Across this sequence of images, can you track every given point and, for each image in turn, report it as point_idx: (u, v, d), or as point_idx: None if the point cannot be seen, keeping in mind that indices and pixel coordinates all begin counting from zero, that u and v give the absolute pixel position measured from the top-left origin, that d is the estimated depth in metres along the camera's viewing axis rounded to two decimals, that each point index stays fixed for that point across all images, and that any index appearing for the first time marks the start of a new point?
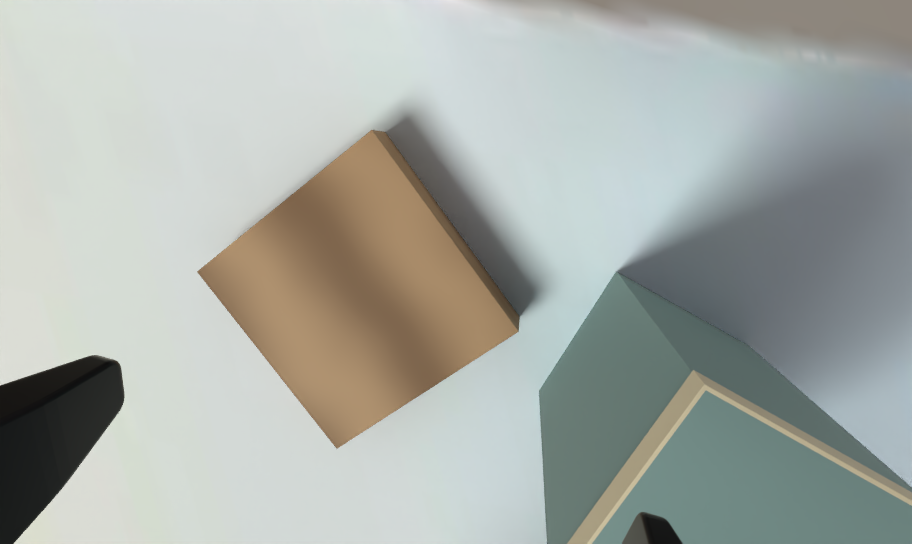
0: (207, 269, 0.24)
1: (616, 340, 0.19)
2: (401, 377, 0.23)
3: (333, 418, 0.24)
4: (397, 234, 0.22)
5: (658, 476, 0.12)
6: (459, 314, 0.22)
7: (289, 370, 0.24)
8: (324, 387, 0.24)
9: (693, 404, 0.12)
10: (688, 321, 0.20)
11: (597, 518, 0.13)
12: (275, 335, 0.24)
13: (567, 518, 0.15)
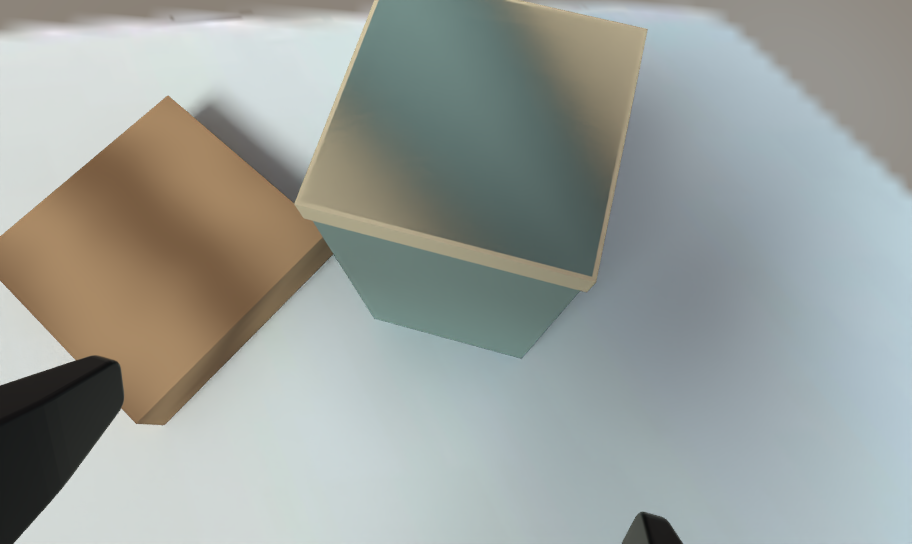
0: None
1: None
2: (211, 312, 0.21)
3: (131, 384, 0.20)
4: (196, 172, 0.23)
5: (372, 49, 0.13)
6: (266, 230, 0.22)
7: (78, 339, 0.21)
8: (121, 348, 0.21)
9: None
10: None
11: None
12: (63, 302, 0.21)
13: None
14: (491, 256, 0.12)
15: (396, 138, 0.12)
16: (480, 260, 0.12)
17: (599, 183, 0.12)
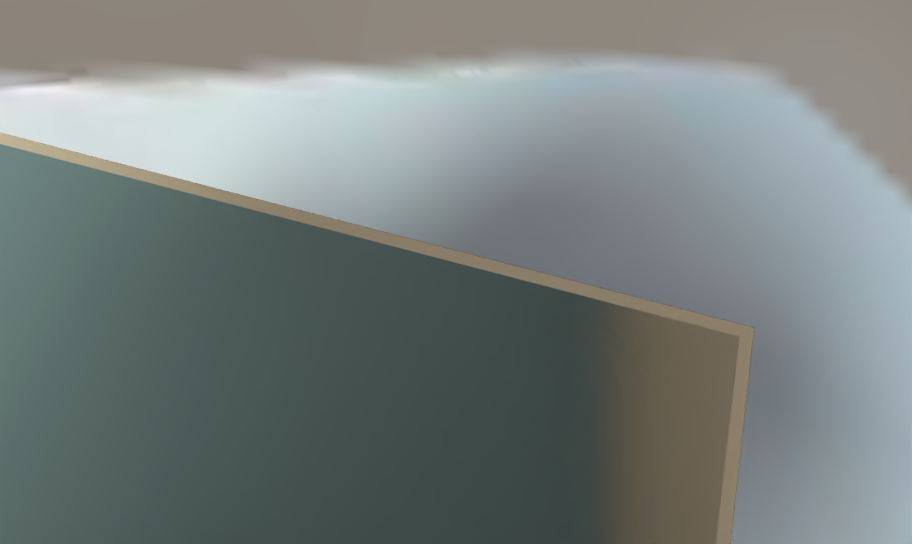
0: None
1: None
2: None
3: None
4: None
5: None
6: None
7: None
8: None
9: None
10: None
11: None
12: None
13: None
14: None
15: None
16: None
17: None
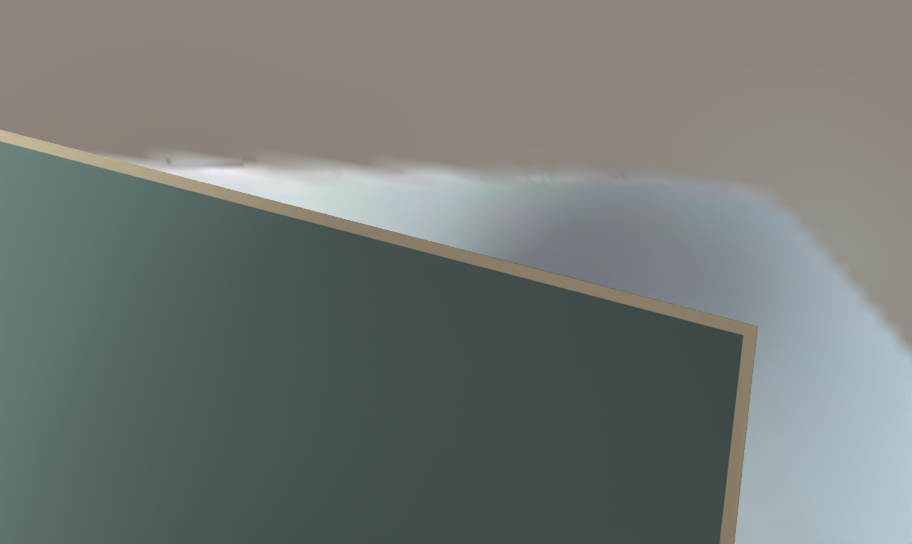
0: None
1: None
2: None
3: None
4: None
5: None
6: None
7: None
8: None
9: None
10: None
11: None
12: None
13: None
14: None
15: None
16: None
17: None
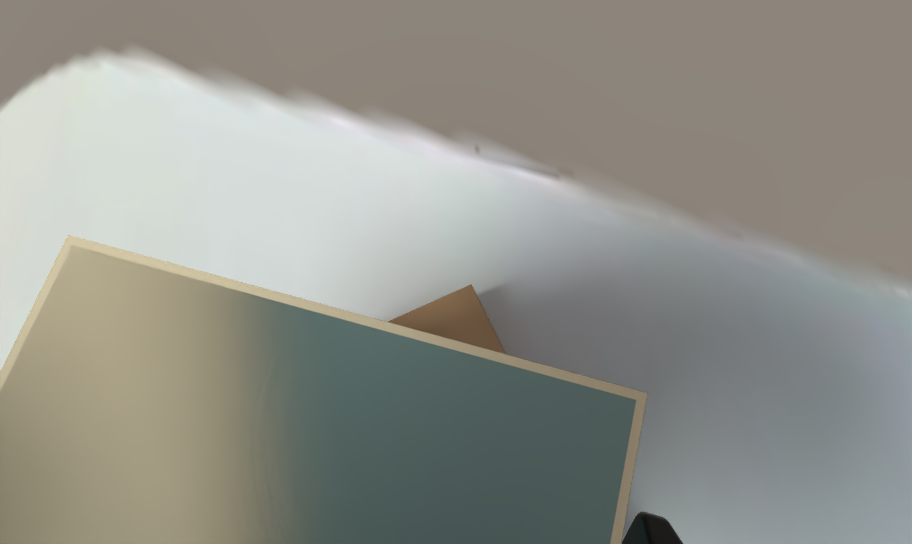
0: None
1: None
2: None
3: None
4: None
5: (0, 454, 0.06)
6: None
7: None
8: None
9: (58, 279, 0.06)
10: None
11: None
12: None
13: None
14: None
15: None
16: None
17: None
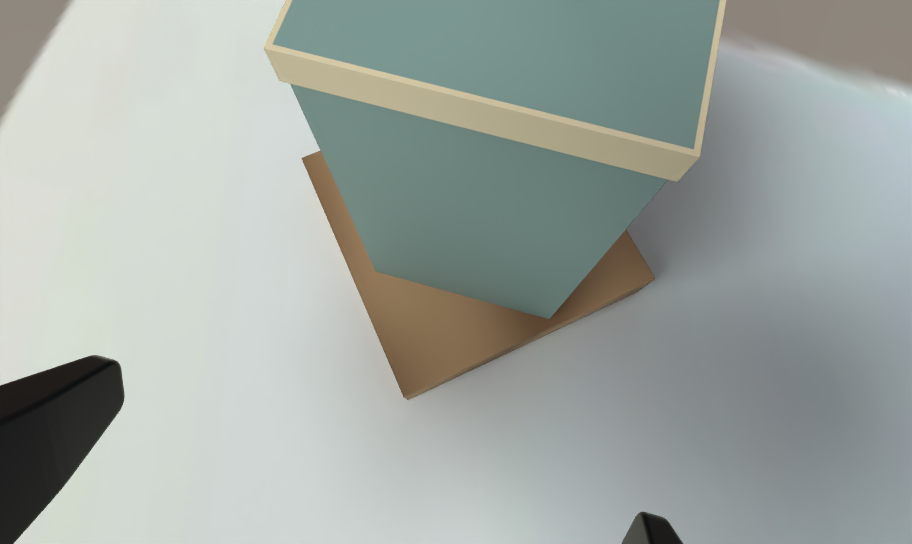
0: (314, 157, 0.21)
1: None
2: (510, 312, 0.19)
3: (410, 353, 0.19)
4: None
5: None
6: None
7: (372, 283, 0.20)
8: (410, 311, 0.19)
9: None
10: None
11: None
12: None
13: None
14: (546, 120, 0.08)
15: None
16: (527, 134, 0.08)
17: (698, 26, 0.08)
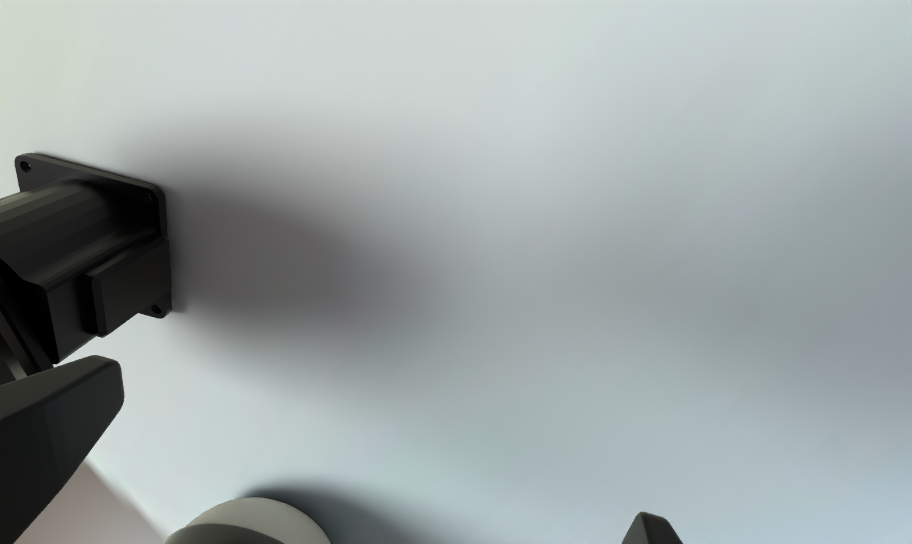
0: None
1: None
2: None
3: None
4: None
5: None
6: None
7: None
8: None
9: None
10: None
11: None
12: None
13: None
14: None
15: None
16: None
17: None
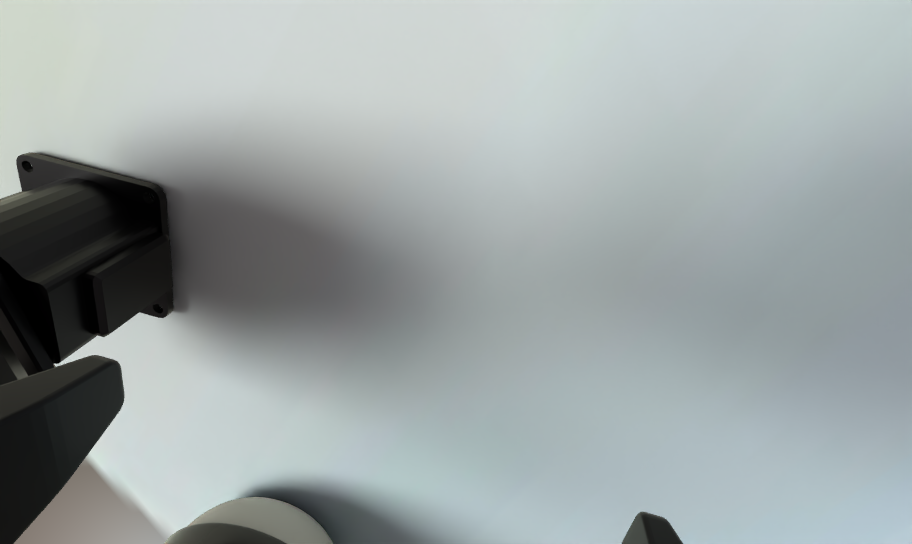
0: None
1: None
2: None
3: None
4: None
5: None
6: None
7: None
8: None
9: None
10: None
11: None
12: None
13: None
14: None
15: None
16: None
17: None
